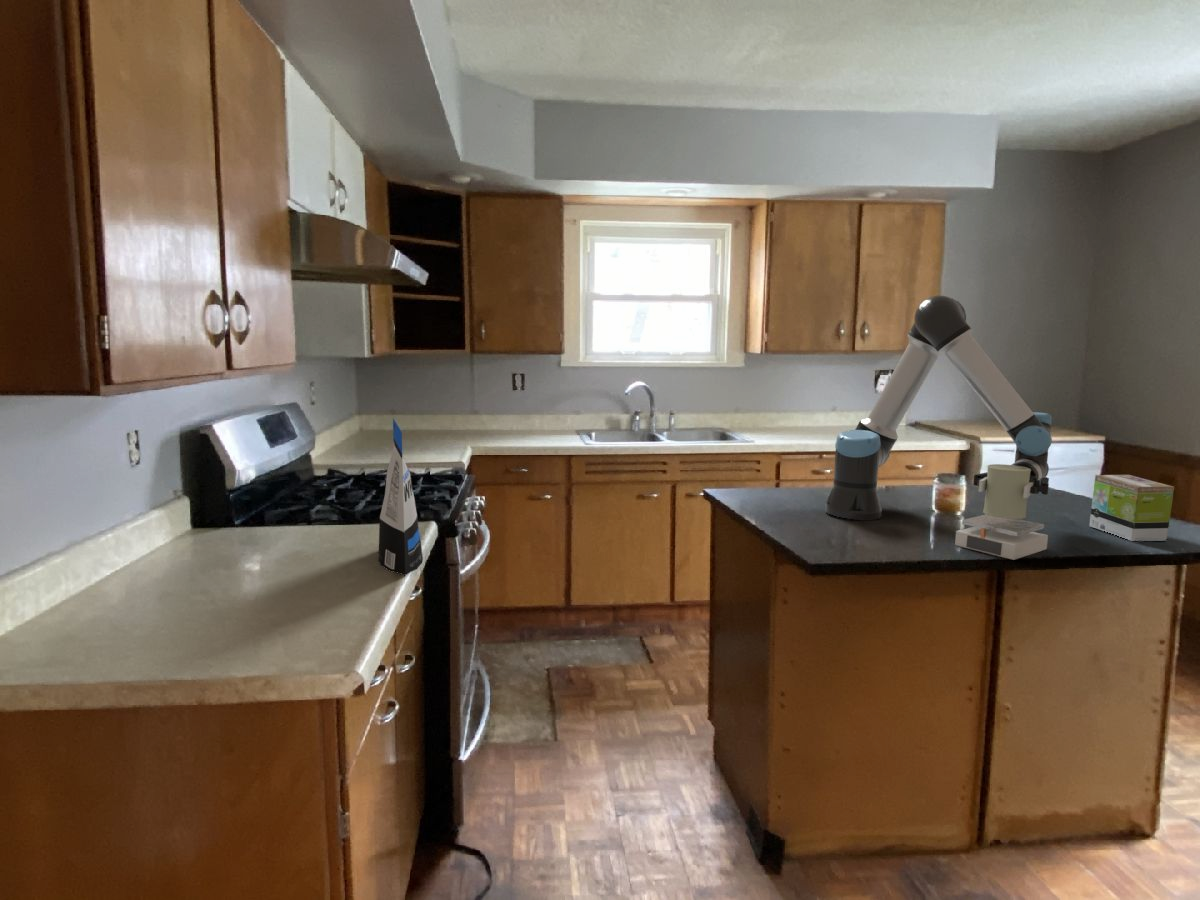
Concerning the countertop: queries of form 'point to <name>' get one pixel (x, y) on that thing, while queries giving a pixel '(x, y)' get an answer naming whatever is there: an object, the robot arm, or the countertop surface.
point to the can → (1006, 491)
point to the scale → (1001, 542)
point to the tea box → (1131, 507)
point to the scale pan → (1002, 525)
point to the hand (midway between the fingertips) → (1002, 489)
